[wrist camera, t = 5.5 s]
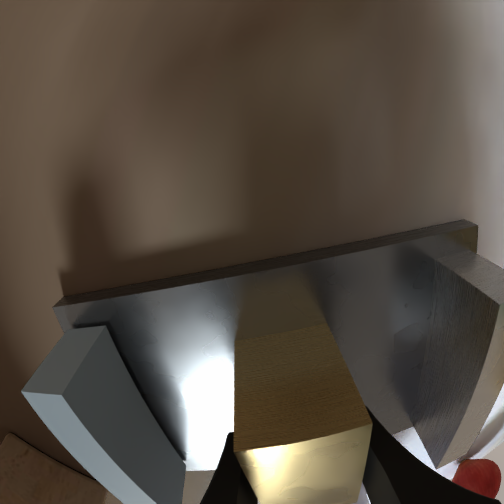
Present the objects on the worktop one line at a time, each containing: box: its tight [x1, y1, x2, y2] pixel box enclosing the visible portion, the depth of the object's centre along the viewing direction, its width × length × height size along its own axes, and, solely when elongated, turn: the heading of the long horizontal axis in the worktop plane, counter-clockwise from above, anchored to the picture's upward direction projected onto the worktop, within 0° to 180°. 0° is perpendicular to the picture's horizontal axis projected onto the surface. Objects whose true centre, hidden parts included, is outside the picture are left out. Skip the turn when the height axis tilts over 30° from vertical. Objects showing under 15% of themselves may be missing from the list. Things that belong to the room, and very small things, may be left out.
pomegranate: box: [452, 459, 501, 499], centre depth 15 cm, size 6×6×8 cm
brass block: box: [234, 323, 373, 504], centre depth 9 cm, size 6×4×5 cm, turn 11°
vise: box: [52, 220, 504, 471], centre depth 11 cm, size 12×18×5 cm, turn 101°
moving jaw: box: [21, 325, 186, 504], centre depth 10 cm, size 10×2×4 cm, turn 11°
